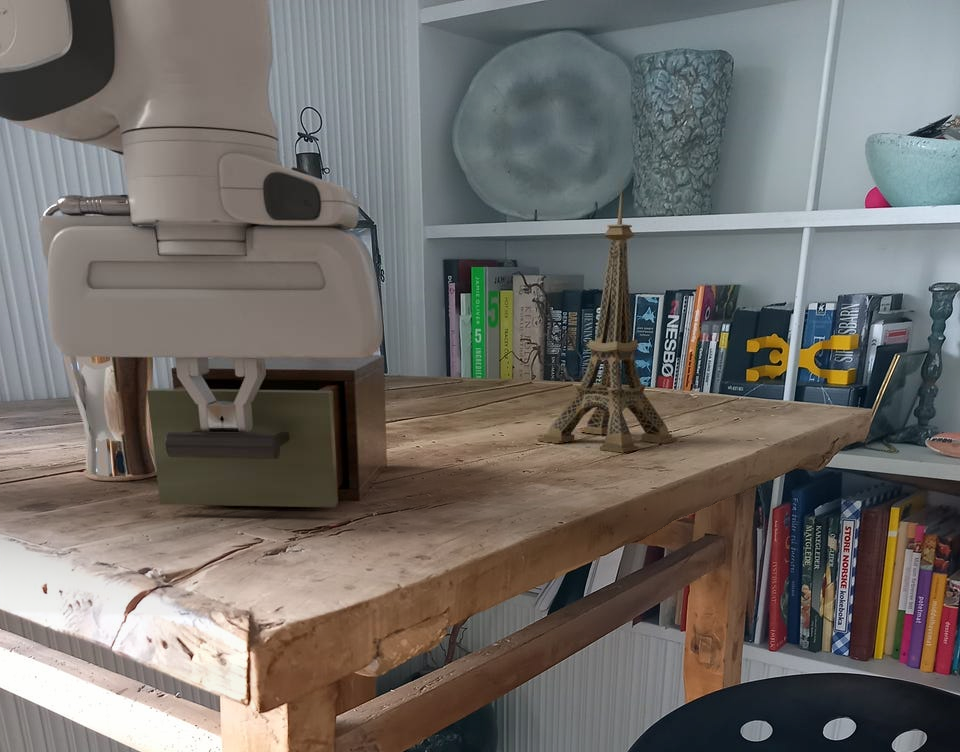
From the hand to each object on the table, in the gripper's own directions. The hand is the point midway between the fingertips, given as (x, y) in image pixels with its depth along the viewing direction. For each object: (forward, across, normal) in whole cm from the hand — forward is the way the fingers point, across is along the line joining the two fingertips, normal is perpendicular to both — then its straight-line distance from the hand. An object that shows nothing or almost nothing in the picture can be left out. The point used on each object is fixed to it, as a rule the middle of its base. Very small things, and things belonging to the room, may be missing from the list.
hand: (228, 431), depth 60 cm
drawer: (+6, 0, +8) cm, 9 cm away
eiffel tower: (+7, +28, +40) cm, 49 cm away
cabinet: (+6, 0, +17) cm, 18 cm away
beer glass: (+7, -15, +18) cm, 24 cm away
